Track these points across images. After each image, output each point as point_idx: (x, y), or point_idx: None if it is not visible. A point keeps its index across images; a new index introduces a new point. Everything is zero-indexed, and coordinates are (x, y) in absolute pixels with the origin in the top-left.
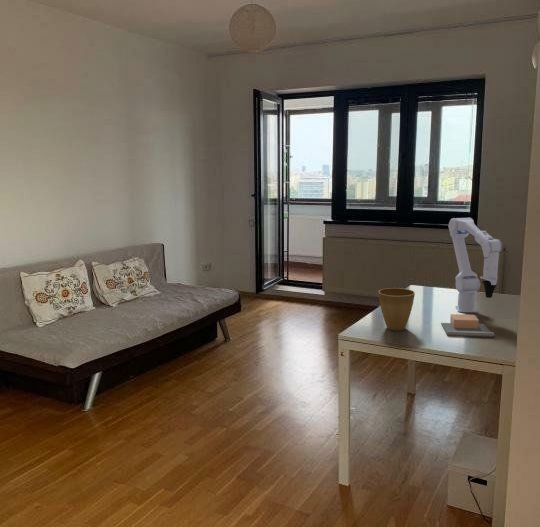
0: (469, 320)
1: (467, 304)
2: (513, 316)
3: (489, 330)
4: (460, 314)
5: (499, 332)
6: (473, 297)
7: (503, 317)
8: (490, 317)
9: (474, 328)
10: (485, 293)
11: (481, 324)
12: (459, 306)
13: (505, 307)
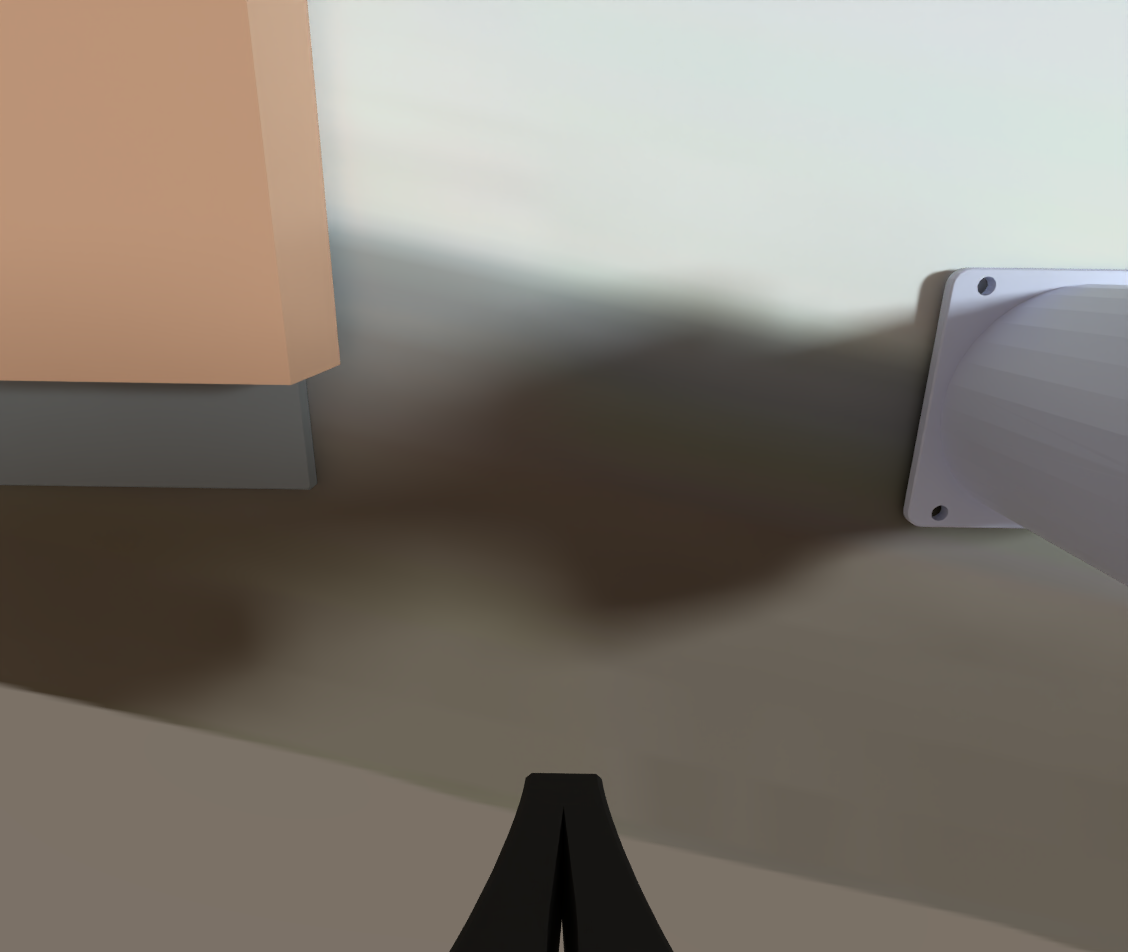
0: None
1: (1018, 417)
2: (738, 862)
3: (34, 484)
4: (258, 117)
5: (72, 585)
6: (1122, 568)
7: (695, 764)
8: (690, 633)
9: None
10: (585, 831)
11: (284, 446)
12: (1091, 292)
13: (1109, 877)
